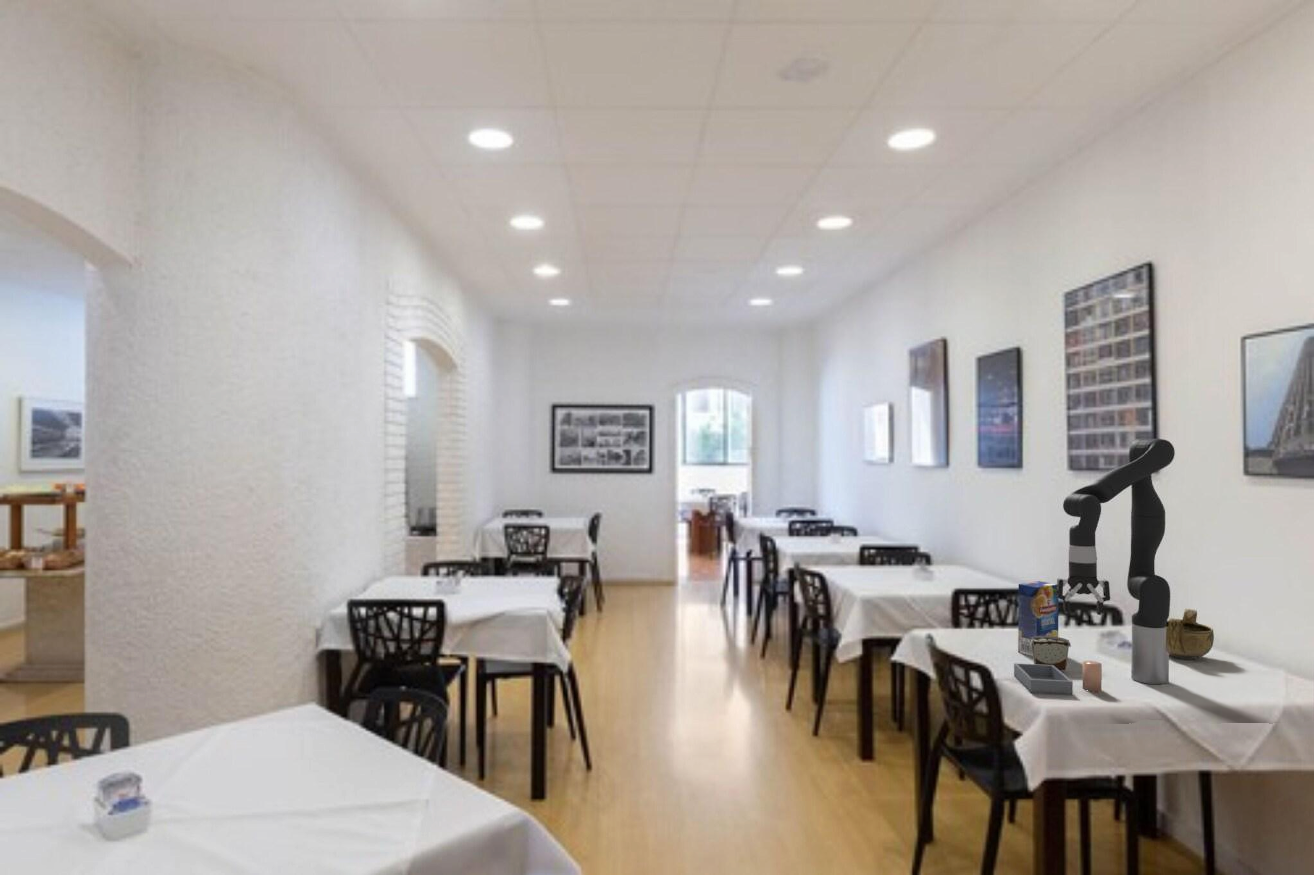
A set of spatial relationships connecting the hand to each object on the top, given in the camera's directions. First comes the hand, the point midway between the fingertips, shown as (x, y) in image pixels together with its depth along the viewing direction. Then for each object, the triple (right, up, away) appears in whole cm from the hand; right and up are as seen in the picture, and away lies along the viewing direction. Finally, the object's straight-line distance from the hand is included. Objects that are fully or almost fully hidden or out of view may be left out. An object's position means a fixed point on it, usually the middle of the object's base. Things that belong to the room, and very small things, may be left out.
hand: (1083, 613), depth 246 cm
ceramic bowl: (+53, -23, +35) cm, 67 cm away
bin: (-11, -22, +2) cm, 25 cm away
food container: (-1, -23, +21) cm, 31 cm away
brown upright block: (+2, -22, -2) cm, 23 cm away
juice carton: (+5, -23, +40) cm, 46 cm away
